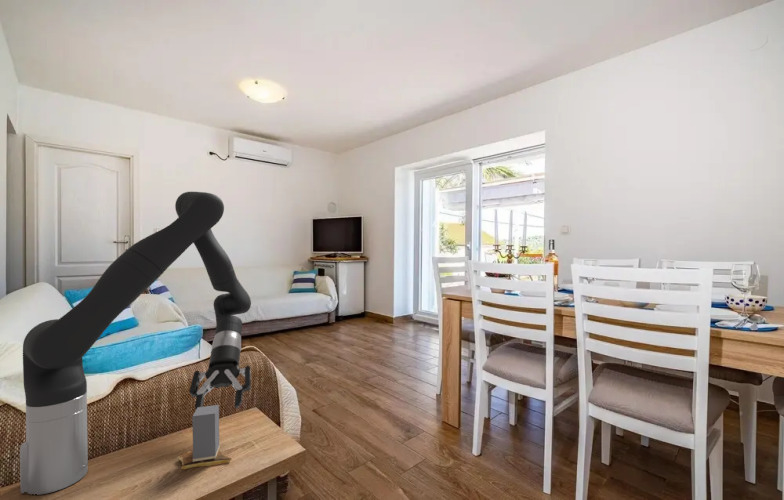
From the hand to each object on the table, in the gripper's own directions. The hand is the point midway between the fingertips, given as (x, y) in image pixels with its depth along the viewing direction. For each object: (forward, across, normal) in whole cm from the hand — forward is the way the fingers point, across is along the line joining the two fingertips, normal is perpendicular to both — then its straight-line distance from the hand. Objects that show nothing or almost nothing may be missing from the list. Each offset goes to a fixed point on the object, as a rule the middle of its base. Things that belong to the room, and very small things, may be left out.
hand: (218, 409), depth 88 cm
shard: (+11, -1, +1) cm, 11 cm away
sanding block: (+10, -1, -1) cm, 10 cm away
